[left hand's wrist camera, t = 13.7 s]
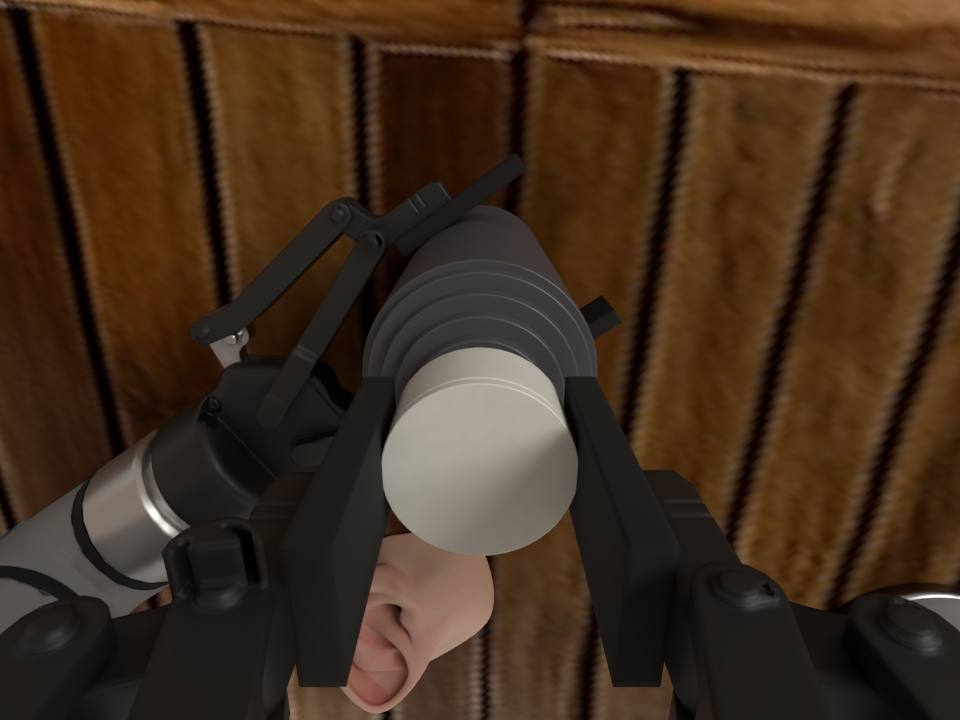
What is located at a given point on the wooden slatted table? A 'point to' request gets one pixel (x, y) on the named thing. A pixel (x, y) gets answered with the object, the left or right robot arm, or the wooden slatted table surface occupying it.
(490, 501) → the cap
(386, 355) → the bottle
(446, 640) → the anatomical model
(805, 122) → the wooden slatted table surface
